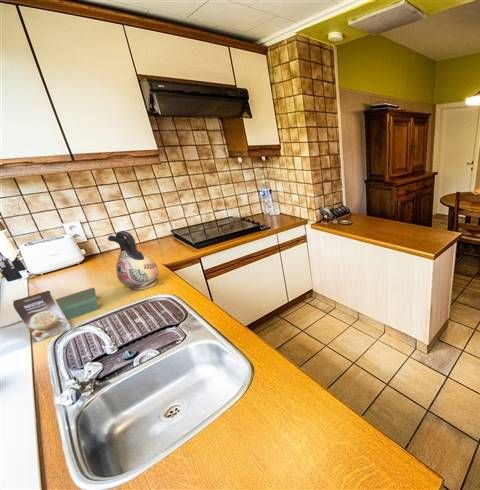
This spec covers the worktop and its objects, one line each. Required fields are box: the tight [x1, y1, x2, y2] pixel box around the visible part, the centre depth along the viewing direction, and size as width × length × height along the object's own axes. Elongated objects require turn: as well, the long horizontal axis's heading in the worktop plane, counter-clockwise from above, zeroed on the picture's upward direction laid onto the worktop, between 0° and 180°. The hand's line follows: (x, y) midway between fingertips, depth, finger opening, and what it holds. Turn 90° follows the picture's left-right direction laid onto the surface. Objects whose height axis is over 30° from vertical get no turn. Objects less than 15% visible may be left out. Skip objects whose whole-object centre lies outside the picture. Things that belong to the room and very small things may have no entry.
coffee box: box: [12, 290, 72, 343], centre depth 100 cm, size 9×6×16 cm
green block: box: [54, 287, 101, 321], centre depth 114 cm, size 16×12×6 cm
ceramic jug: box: [107, 230, 159, 291], centre depth 127 cm, size 17×15×30 cm
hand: (17, 275), depth 93 cm, fingers open, 9 cm apart
